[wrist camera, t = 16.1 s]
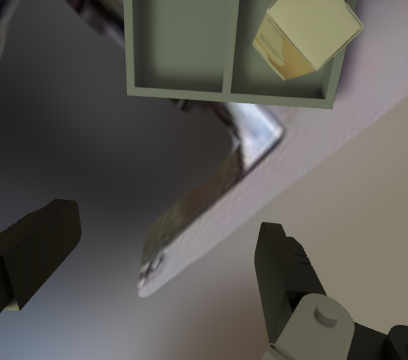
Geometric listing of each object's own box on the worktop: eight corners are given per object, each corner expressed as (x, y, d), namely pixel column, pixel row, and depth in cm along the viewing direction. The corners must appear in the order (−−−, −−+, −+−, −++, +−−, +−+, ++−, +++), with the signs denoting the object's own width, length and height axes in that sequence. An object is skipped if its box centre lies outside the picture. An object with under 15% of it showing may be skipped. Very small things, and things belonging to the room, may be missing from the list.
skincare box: (250, 44, 29) (260, 8, 17) (278, 14, 28) (309, -48, 16) (285, 84, 30) (316, 73, 18) (314, 56, 29) (367, 25, 17)
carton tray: (137, 95, 33) (127, 95, 30) (135, -17, 29) (122, -32, 26) (321, 108, 31) (332, 109, 28) (347, -12, 27) (363, -28, 23)
